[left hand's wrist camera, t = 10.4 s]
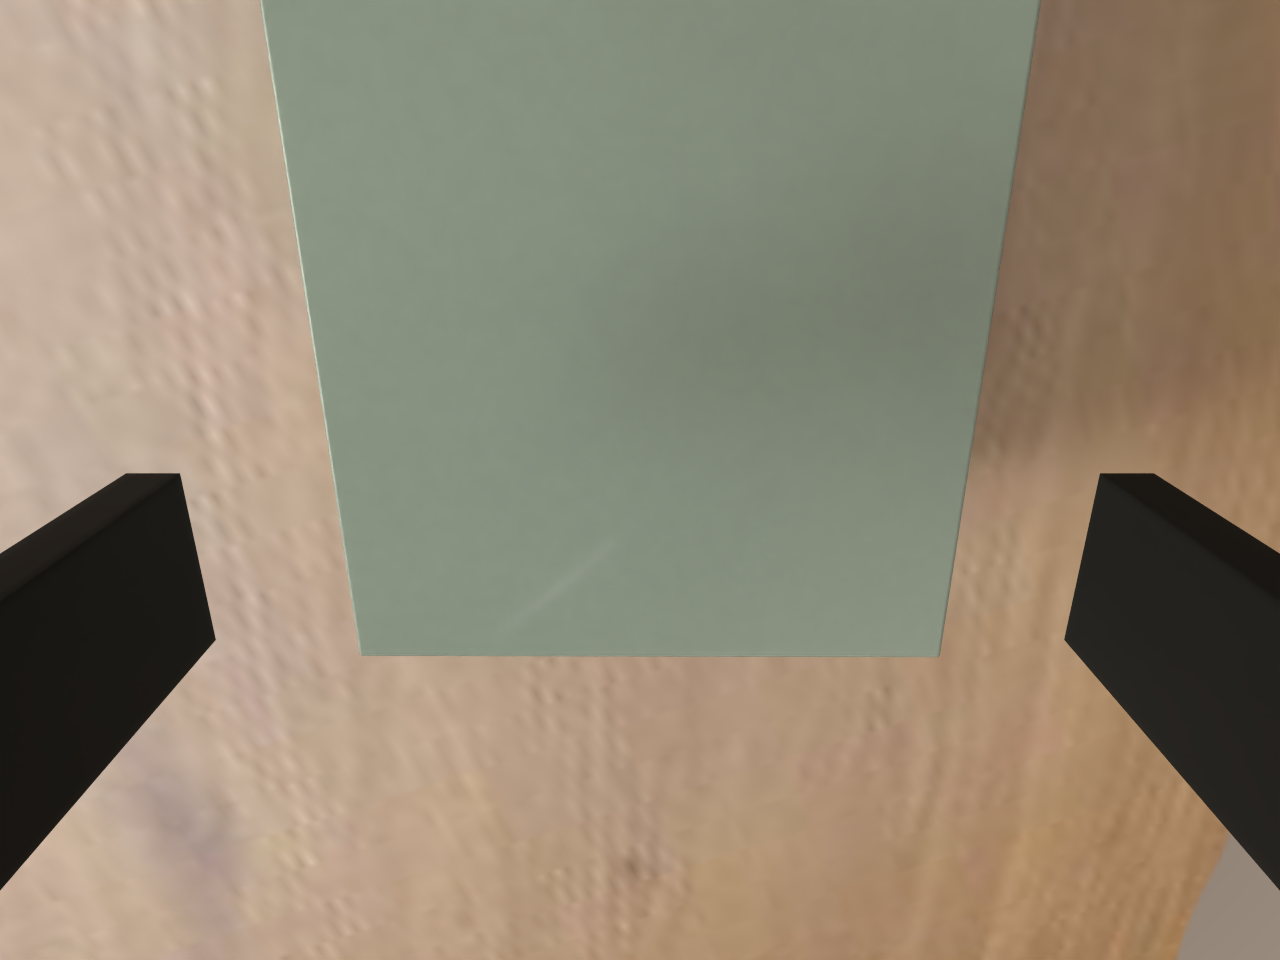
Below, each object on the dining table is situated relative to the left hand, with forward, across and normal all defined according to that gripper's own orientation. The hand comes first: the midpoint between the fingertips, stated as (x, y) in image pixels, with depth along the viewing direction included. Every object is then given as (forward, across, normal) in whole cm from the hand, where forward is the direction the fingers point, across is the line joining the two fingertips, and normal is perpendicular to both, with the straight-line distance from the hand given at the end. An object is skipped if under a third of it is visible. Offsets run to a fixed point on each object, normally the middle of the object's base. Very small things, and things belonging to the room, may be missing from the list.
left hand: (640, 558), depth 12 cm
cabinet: (+12, 0, -6) cm, 13 cm away
